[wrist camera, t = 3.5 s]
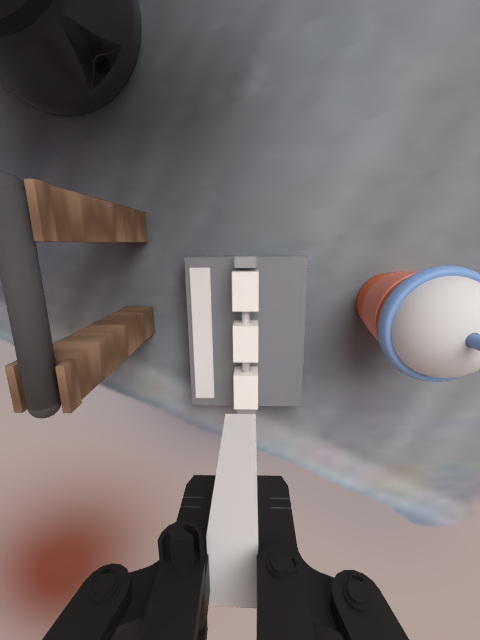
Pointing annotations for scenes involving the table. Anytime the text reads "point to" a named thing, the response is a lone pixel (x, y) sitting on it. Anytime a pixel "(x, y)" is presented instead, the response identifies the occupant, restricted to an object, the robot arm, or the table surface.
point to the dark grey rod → (26, 300)
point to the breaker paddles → (245, 338)
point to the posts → (106, 334)
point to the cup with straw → (425, 320)
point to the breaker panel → (273, 319)
